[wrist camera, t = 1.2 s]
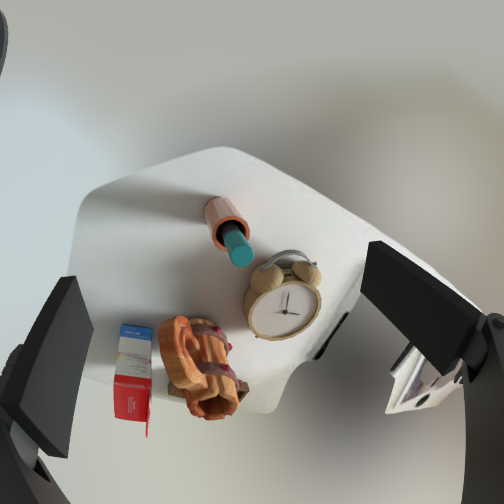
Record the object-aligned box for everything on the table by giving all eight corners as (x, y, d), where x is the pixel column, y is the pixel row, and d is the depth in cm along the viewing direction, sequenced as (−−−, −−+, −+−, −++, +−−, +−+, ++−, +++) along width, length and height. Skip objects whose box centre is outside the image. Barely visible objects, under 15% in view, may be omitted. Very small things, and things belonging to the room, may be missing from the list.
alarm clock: (246, 346, 42) (254, 268, 34) (239, 323, 46) (245, 245, 38) (313, 335, 45) (338, 260, 36) (302, 314, 49) (322, 240, 40)
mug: (235, 342, 45) (259, 417, 32) (190, 361, 45) (203, 437, 31) (192, 272, 38) (205, 349, 25) (141, 297, 38) (133, 378, 24)
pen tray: (167, 385, 46) (168, 394, 44) (178, 366, 44) (179, 375, 43) (233, 399, 51) (235, 407, 50) (247, 382, 50) (249, 390, 48)
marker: (208, 213, 35) (225, 257, 24) (220, 201, 35) (243, 240, 23) (219, 223, 36) (241, 271, 25) (231, 212, 35) (259, 255, 24)
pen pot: (197, 212, 35) (204, 235, 28) (219, 190, 35) (232, 208, 28) (218, 231, 37) (230, 258, 30) (240, 211, 36) (257, 233, 29)
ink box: (121, 322, 38) (110, 401, 26) (153, 327, 40) (152, 406, 27) (119, 361, 41) (113, 435, 28) (148, 366, 43) (149, 440, 30)
